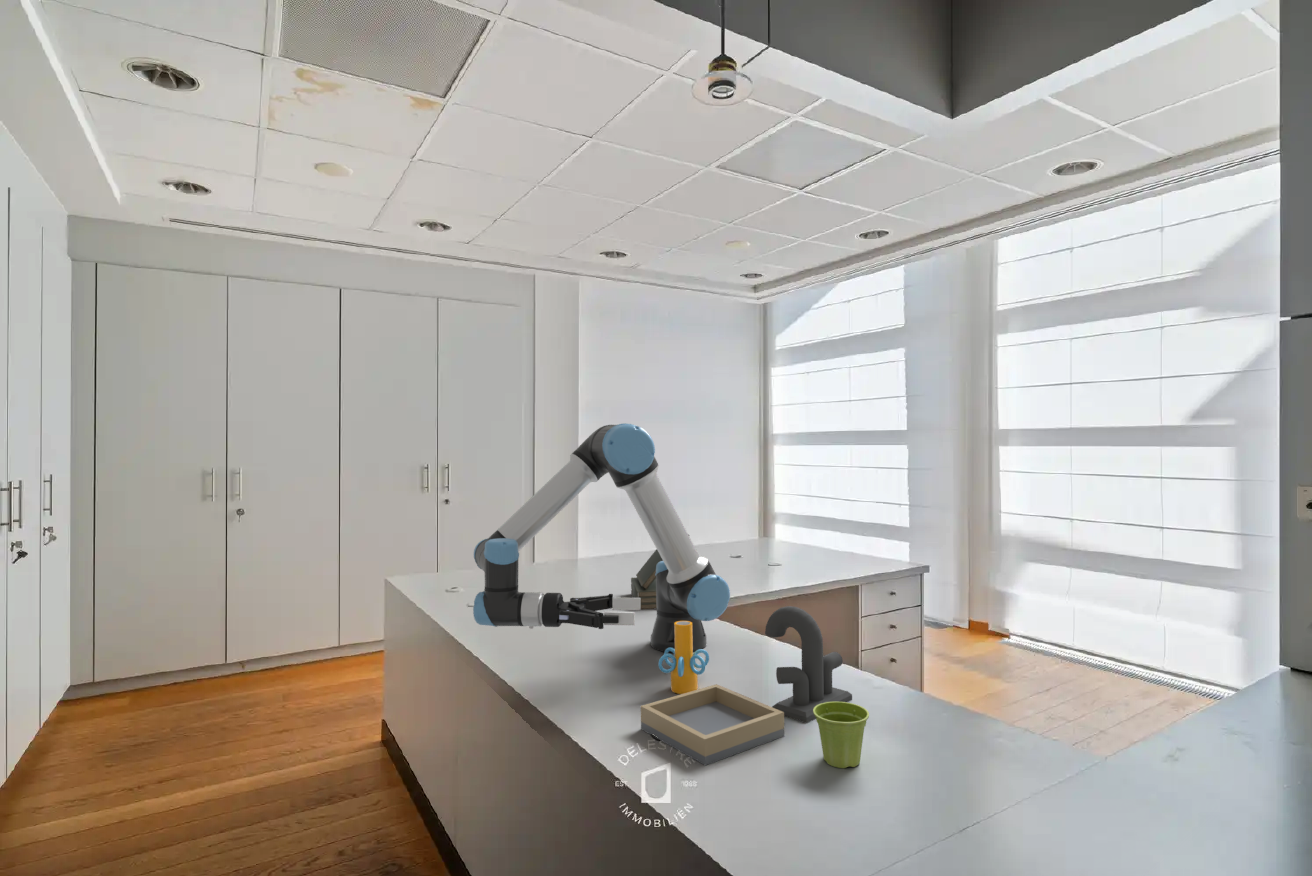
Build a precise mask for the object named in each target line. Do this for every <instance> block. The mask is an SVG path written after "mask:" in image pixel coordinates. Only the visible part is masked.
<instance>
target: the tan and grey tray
mask: <svg viewBox="0 0 1312 876" xmlns="http://www.w3.org/2000/svg"><path fill="white" fill-rule="evenodd" d="M640 729H641V730H642V729H643V730H642V731H644V732H645V731H646V732H645V733H647V732H648V733H647V734H649V735H651V734H654V735H655V736H657V737H658V738H659V739H658V738H657V739H658V740H660V741H661V742H663V743H665V744H666V745H668V746H670V747H673V748H674V749H675V750H677V751H679V752H681V753H682V754H684V755H686V756H688V757H690V758H692V759H693V760H695V761H696V762H699V763H700V764H702V765H704V766H707V765H710V764H712V763H715V762H718V761H721V760H723V759H726V758H729V757H732V756H734V755H737V754H740V753H742V752H745V751H748V750H750V749H751V750H752V749H753V748H756V747H759V746H761V745H765V744H766V743H770V742H772V741H775V740H777V739H781V738H783V737H785V716H784V712H782V711H780V710H777V709H775V708H773V707H772V706H770V705H768V704H765V703H763V702H761V701H759V700H755V699H753V698H751V697H748V696H746V695H744V694H742V693H738V692H736V691H735V690H732V689H729V688H727V687H724V686H722V685H721V684H720V685H719V684H717V683H716V684H713V685H709V686H706V687H701V688H698V690H694V691H691V692H688V693H684V694H677V695H674V696H671V697H667V698H664V699H660V700H657V701H653V702H651V703H646V704H643V705H640Z"/></svg>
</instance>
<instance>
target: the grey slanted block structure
mask: <svg viewBox="0 0 1312 876" xmlns="http://www.w3.org/2000/svg"><path fill="white" fill-rule="evenodd" d="M688 535H689V537H690V534H689V533H688ZM660 561H663V559H662V558H661V556H660V554H659V552H658V550H657V548H656V549H655V550H654V552H653V553H652V554H651V555H650V557H649V558H648V559H647V561H646V562H644V564H643V565H642V567H641V568H640V569H639V571H638V572H637V573H636V574H635V575H636V577H631V578H630V583H631V584H630V589H631V590H630V591H631V592H630V594H632V595H631V598H641V609H640V610H654V608H657V605H656V576H655V573H656V565H657V563H658V562H660Z"/></svg>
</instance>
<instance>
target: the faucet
mask: <svg viewBox="0 0 1312 876" xmlns="http://www.w3.org/2000/svg"><path fill="white" fill-rule="evenodd" d="M788 628H793V629H794V630H795V631H796V632H797V634H799V637H800V640H801V644H800V645H801V668H799V667H797V666H779V667H776V671H775V672H776V673H775V674H776V681H777V684H778V685H788V684H789V685H790V684H792V695H791V696H790V697H788V698H787V697H786V699H783V700H781V701H779V702H777V703H775V704H774V705H772V706H771V707H773V708H775V709H777V710H780V711H782V712H784V717H786V718H790V719H792V720H797V721H798V722H799V721H800V722H802V723H806V724H808V723H810V722H811V721H813V720H815V719H816V716H815V715H814V713H813V709H814V707H815V706H817V705H818V704H821V703H825V702H848V703H849V702H850V701H852V700H853V693H851V692H850V691H848V690H843V689H841V688H838V687H833V670H836V669H837V668H839V667H841V666H842V665H843V657H842V655H841V654H840V653H839V652H837V651H832V652H829V653H827V654H825V655H824V641H823V640H824V639H823V634H822V631H821V628H820V627H819V625H818V623H817V621H816V620H815V618H814V617H813V616H812V615H811V614H810V613H808V612H807V611H806V610H805V609H802V608H800V607H798V606H793V605H791V606H790V605H788V606H787V605H785V606H783V607H782V606H781V607H780V608H778V609H776V610H775V611H774V612H772V613H771V614H770V616H769V617H768V619H767V623H766V624H765V631H764V634H765V635H766V636H767V637H768V638H782V637H784V636H785V635H786V632H787V630H788Z"/></svg>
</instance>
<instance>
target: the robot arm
mask: <svg viewBox="0 0 1312 876" xmlns="http://www.w3.org/2000/svg"><path fill="white" fill-rule="evenodd" d="M655 454H656V448H655V442H654V440H653V438H652V437H651V435H650V434H649V433H648V432H647V431H646V430H645V428H643V427H641V426H638V425H635V424H632V423H619V424H607V425H603V426H600V427H598V428H597V429H596V430H595V431H593V432H592V433H591V434H590V435H589V436H588V437H587V438H586V439H585V440H584V441H583V442H582V443H581V444H580V445H579V446H578V447H577V448H576V449H575V450H574V451H572V453H571V454H570V455H569V456H570V457H569V461H568V462H567V463H566V464H564V466H563V467H562V468H561V469H560V470H559V471H558V472H557V473H555V475H553V476H552V477H551V478H550V479H549V480H548V481H547V482H546V483H545V484H544V485H543V486H542V487H540V489H539V490H538V491H537V492H535V494H533V495H532V497H530V498H529V499H528V500H527V501H526V502H524V503H523V505H522V506H520V508H519V509H517V511H516V512H514V513H513V514H512V515H511V516H510V517H509V518H508V519H507V520H506V521H505V522H504V523H503V524H502V525H501V526H500V527H498V529H497V530H495V531H494V532H493V533H492V534H491V535H490V536H489V537H488V538H485V539H482V540H480V541H479V542H478V543H477V544H476V545H475V547H474V549H473V558H474V562H475V564H476V565H477V567H478V568H479V569H480V570H482V571H483V573H484V590H483V591H479V592H477V594H476V595H475V598H474V601H473V609H472V610H473V611H472V613H473V618H474V621H475V623H476V624H478V625H480V626H490V627H491V626H492V627H494V628H496V627H497V628H498V627H529V629H530V630H533V629H534V627H542V626H544V627H545V628H559V627H560V626H562V624H570V625H578V626H584V627H589V628H594V629H598V630H603V629H604V626H635V624H636V623H635V622H636V619H635V615H636V612H635V611H641V610H642V609H641V598H633V597H615V596H614V595H613V593H609V594H607V595H598V596H585V597H570V598H569V601H565V600H564V595H563V594H562V593H560V592H546V593H545V594H544V592H542V591H541V592H540V591H539V592H535V591H533V592H529V591H528V592H526V591H525V592H520V591H519V558H520V551H521V550H522V549H523V548H524V547H526V545H527V544H528V543H529V542H530V541H531V540H532V539H533V538H534V537H535V536H536V535H537V534H538V533H540V532H541V530H543V528H545V526H547V525H548V524H549V523H550V522H551V521H552V520H553V519H554V518H555V517H556V516H557V515H559V514H560V512H561V511H563V509H564V508H565V507H567V506H568V504H569V503H571V502H572V501H573V500H574V499H575V498H577V496H578V495H579V494H580V493H581V492H582V491H583V490H584V489H586V488H587V486H588V485H589V484H590V483H597V482H598V481H600V479H601V478H602V477H604V476H605V475H607V474H609V476H610V478H611V479H612V481H613V483H614V485H615V486H616V488H617V489H621V490H624V491H625V492H626V494H627V496H628V498H629V499H630V501H631V503H632V506H633V507H634V509H635V511H636V513H637V515H638V516H639V518H640V520H641V522H642V524H643V526H644V528H645V529H646V531H647V533H648V535H649V538H650V539H651V541H652V543H653V544H654V546H655V548H656V549H657V550H658V552H659V554H660V556H661V558H662V559H663V561H660V562H658V563H657V565H656V573H655V576H656V605H657V609H656V617H655V621H654V625H653V628H652V632H651V634H650V646H651V647H652V648H653V649H654V650H657V651H659V652H660V651H661V652H665V650H666V649H667V648H673V649H675V632H674V623H675V622H677V621H690V622H692V635H693V652H695V651H697V650H699V649H704V648H705V647H707V645H706V644H708V643H707V635H706V631H705V628H704V624H703V622H710V621H714V620H716V619H718V618H719V617H721V615H723V614H724V613H725V611H726V610H727V608H728V606H729V601H730V600H731V598H730V597H731V590H730V587H729V584H728V582H726V580H725V579H724V578H723V577H721V576H720V575H718V574H716V572H715V570H714V567H712V564H711V562H710V561H709V559H708V557H707V556H704V555H700V554H699V552H698V551H697V549H696V546H695V545H694V543H693V541H692V539H691V538H690V536H689V535H690V534H689V533H688V532H687V530H686V528H685V526H684V524H683V522H682V520H681V518H680V516H679V514H678V512H677V511H676V508H675V507H674V504H673V503H672V501H671V499H670V497H669V494H667V492H666V490H665V487H664V486H663V483H662V481H660V477H659V476H658V474H657V472H658V469H659V466H660V465H659V462H658V460H657V459H656V457H655ZM688 534H689V535H688ZM610 609H612V610H613V611H604V610H610ZM614 610H615V611H614ZM599 611H604V612H599ZM702 621H703V622H702ZM668 653H672V652H671V651H669V652H668Z"/></svg>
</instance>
